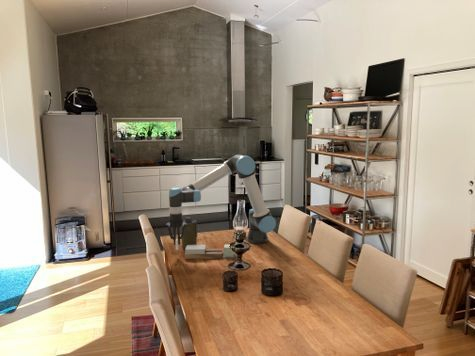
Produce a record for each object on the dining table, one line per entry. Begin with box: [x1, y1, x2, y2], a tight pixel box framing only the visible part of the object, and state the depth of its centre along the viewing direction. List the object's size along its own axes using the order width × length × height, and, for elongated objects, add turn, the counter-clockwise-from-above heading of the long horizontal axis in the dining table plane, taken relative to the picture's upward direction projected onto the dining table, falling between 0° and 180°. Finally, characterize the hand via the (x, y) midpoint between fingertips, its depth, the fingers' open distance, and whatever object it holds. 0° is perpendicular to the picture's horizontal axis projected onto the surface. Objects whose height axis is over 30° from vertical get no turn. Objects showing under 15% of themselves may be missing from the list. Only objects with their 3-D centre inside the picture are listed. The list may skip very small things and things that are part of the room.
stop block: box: [223, 244, 235, 257], centre depth 240 cm, size 6×6×6 cm
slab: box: [184, 244, 207, 255], centre depth 240 cm, size 9×12×3 cm
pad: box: [222, 252, 237, 259], centre depth 241 cm, size 10×8×1 cm
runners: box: [184, 248, 223, 260], centre depth 240 cm, size 9×23×3 cm, turn 91°
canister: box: [180, 216, 198, 249], centre depth 259 cm, size 11×10×20 cm
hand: (177, 249), depth 240 cm, fingers closed
